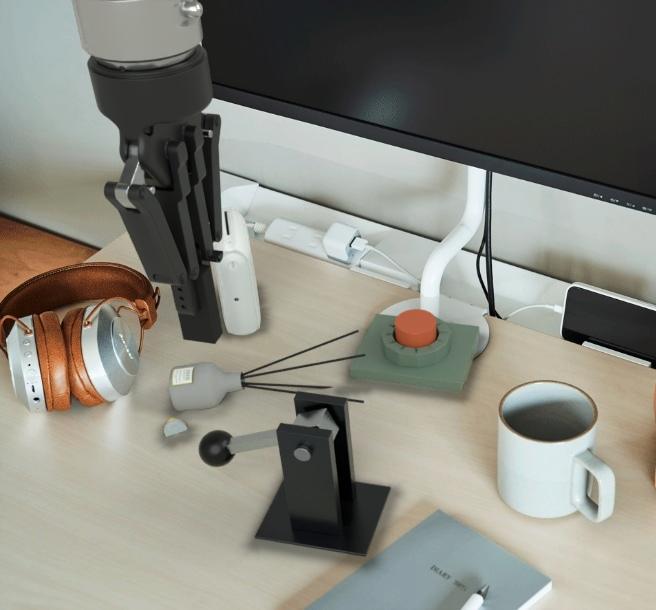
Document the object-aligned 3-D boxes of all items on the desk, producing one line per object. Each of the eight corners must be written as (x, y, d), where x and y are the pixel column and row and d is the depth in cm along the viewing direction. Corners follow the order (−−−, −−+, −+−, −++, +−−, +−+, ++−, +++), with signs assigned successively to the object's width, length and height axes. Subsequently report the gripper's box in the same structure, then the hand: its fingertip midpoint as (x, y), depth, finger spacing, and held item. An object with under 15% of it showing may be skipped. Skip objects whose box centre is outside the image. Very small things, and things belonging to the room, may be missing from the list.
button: (390, 346, 98) (389, 330, 97) (401, 321, 101) (400, 306, 100) (431, 351, 97) (430, 335, 96) (440, 326, 101) (440, 311, 99)
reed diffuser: (163, 339, 94) (359, 315, 94) (185, 370, 99) (369, 347, 100) (157, 432, 88) (364, 406, 89) (180, 458, 94) (374, 434, 95)
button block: (350, 384, 98) (348, 354, 96) (377, 328, 106) (375, 300, 104) (461, 399, 96) (460, 369, 94) (479, 341, 104) (479, 313, 102)
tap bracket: (256, 545, 80) (235, 438, 73) (288, 479, 87) (272, 375, 79) (366, 564, 79) (356, 456, 71) (391, 495, 85) (384, 390, 78)
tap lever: (204, 477, 80) (185, 450, 79) (219, 451, 83) (201, 425, 81) (331, 454, 75) (313, 426, 74) (343, 428, 78) (326, 400, 76)
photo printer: (264, 334, 105) (250, 241, 98) (226, 340, 104) (208, 247, 97) (256, 285, 113) (242, 196, 106) (220, 290, 112) (204, 200, 105)
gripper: (151, 92, 54) (212, 395, 68) (241, 21, 65) (278, 296, 78) (35, 80, 55) (118, 381, 69) (142, 13, 66) (195, 285, 80)
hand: (203, 336), depth 74 cm, fingers closed
